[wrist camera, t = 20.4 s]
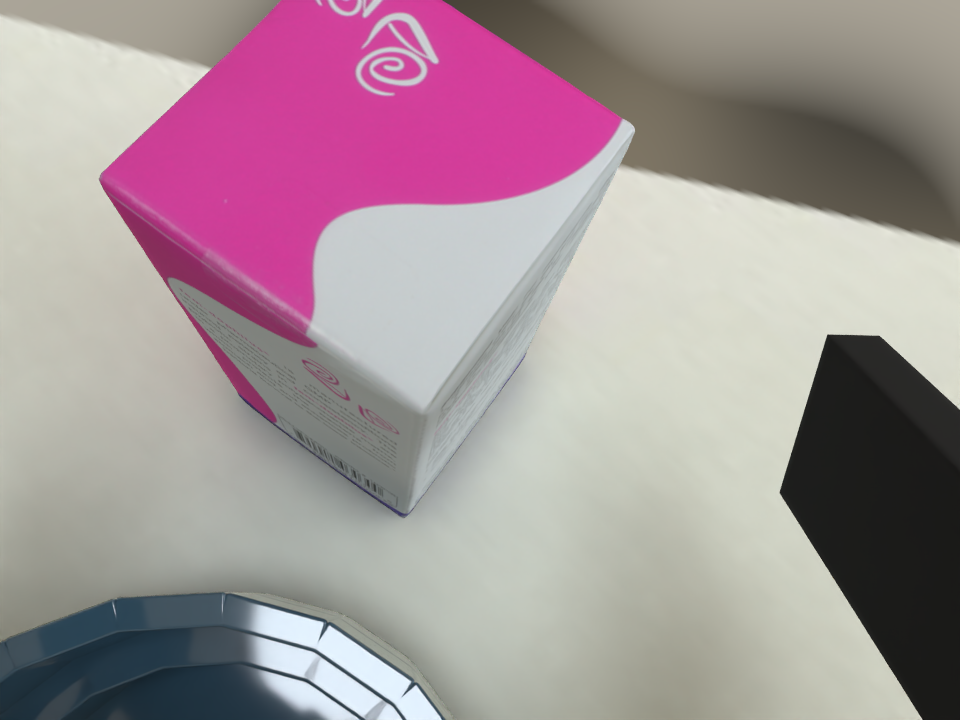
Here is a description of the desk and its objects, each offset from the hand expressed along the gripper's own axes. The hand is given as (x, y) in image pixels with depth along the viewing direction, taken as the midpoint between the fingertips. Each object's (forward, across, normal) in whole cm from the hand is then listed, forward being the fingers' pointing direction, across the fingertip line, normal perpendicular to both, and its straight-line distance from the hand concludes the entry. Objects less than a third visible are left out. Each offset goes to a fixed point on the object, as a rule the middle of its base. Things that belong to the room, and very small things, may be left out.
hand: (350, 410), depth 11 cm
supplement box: (+10, 0, -5) cm, 11 cm away
